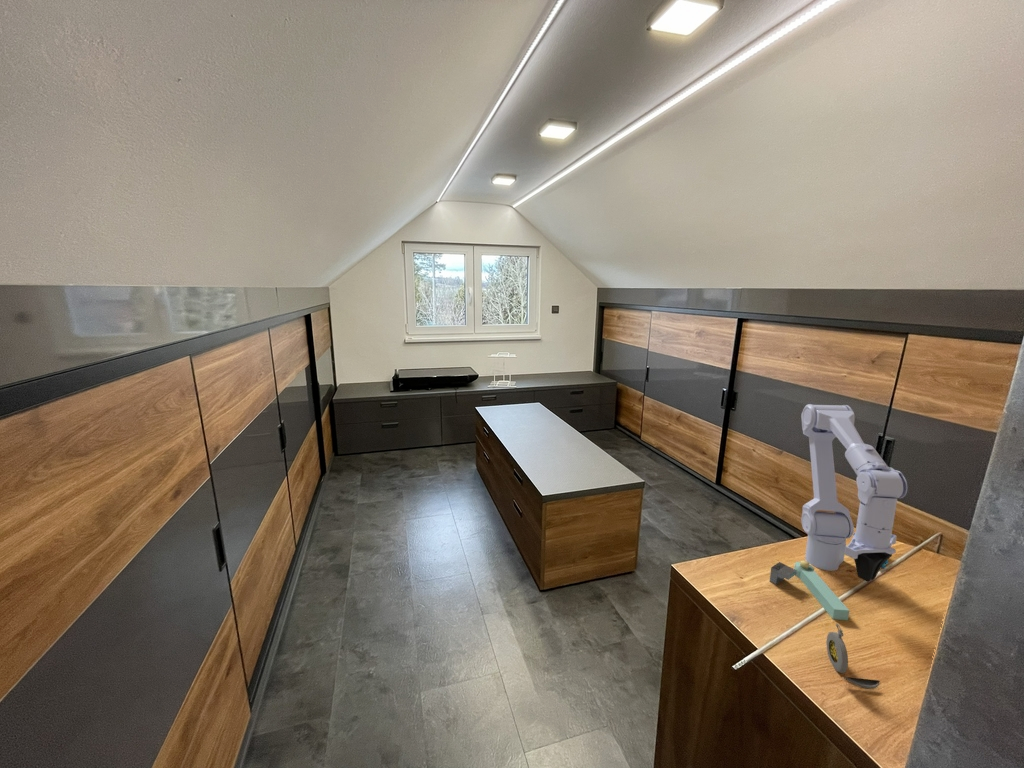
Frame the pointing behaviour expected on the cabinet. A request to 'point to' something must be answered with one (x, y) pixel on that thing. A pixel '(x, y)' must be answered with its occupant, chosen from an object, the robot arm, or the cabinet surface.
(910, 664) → the cabinet surface
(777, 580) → the block
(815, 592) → the latch bar
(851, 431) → the robot arm
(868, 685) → the pocket watch
